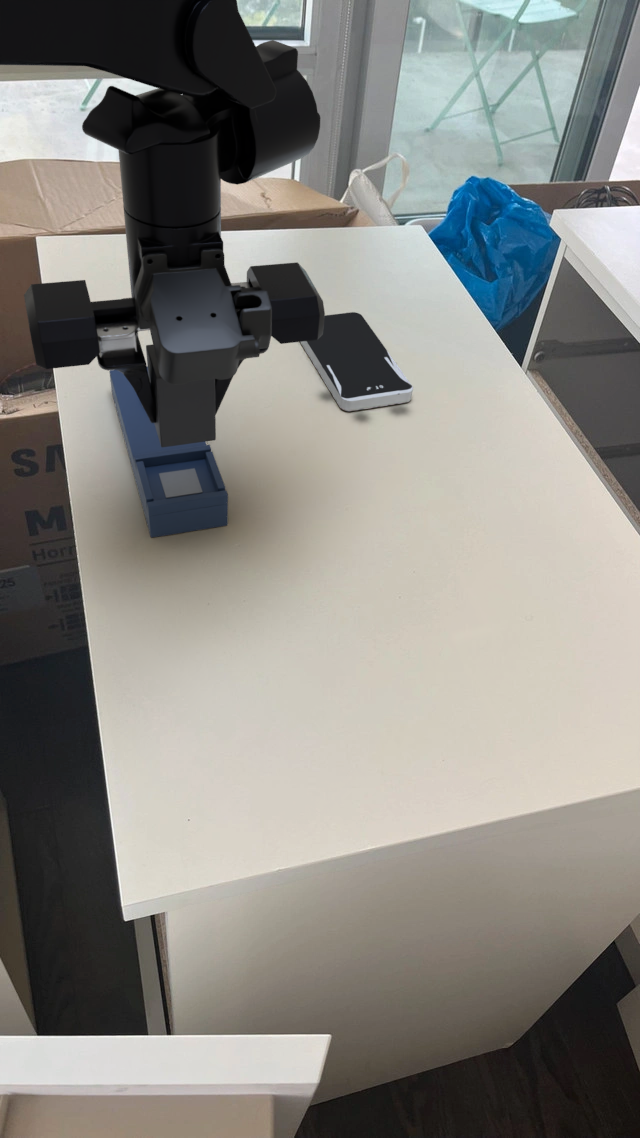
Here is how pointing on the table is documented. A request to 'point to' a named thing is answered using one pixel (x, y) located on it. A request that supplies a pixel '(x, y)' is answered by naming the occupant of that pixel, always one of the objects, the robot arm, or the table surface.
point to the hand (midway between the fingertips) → (182, 415)
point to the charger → (182, 407)
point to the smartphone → (357, 364)
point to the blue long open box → (169, 471)
